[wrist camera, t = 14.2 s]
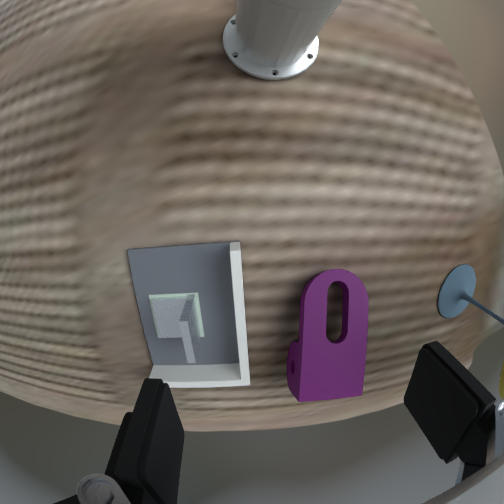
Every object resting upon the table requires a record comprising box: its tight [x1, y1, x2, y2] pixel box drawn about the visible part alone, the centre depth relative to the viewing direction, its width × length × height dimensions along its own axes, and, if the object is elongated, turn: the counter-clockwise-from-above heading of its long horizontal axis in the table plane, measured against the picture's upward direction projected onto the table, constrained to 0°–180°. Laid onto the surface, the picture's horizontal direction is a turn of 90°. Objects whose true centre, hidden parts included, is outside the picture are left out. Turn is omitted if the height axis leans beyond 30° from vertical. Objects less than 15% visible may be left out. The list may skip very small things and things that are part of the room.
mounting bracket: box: [287, 269, 368, 402], centre depth 39 cm, size 10×8×18 cm
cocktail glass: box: [438, 264, 504, 399], centre depth 29 cm, size 18×18×25 cm
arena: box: [127, 241, 250, 388], centre depth 36 cm, size 20×15×5 cm
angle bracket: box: [151, 296, 201, 363], centre depth 34 cm, size 6×6×7 cm
